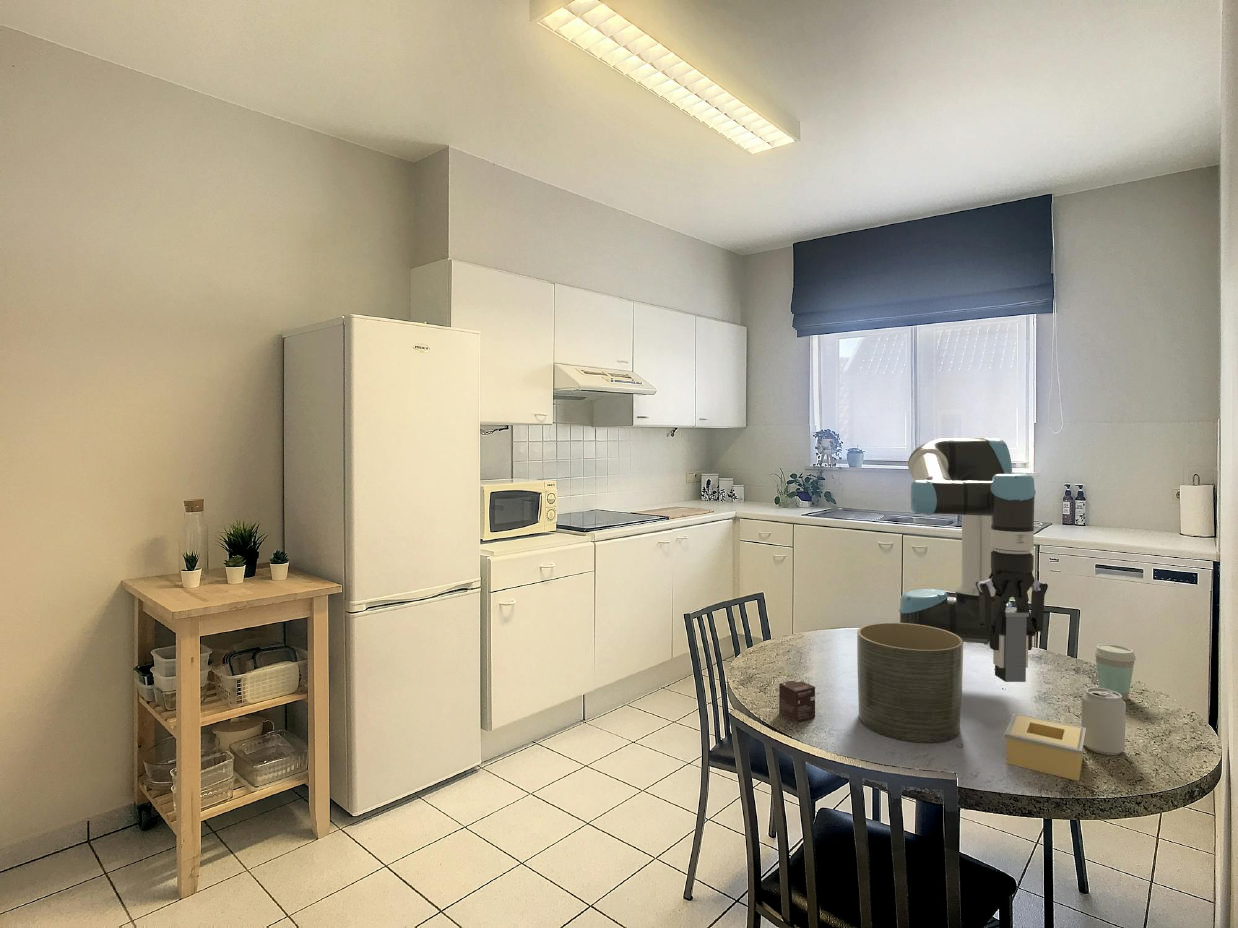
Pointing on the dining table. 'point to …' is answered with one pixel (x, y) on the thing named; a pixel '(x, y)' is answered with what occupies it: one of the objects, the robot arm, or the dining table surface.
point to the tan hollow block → (1045, 746)
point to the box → (797, 700)
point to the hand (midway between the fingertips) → (1010, 665)
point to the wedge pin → (1013, 646)
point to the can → (1104, 721)
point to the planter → (910, 681)
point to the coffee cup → (1115, 668)
